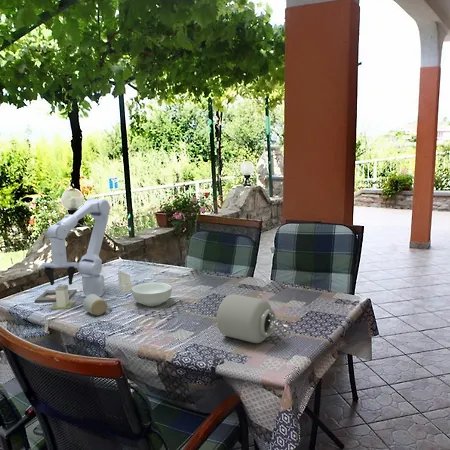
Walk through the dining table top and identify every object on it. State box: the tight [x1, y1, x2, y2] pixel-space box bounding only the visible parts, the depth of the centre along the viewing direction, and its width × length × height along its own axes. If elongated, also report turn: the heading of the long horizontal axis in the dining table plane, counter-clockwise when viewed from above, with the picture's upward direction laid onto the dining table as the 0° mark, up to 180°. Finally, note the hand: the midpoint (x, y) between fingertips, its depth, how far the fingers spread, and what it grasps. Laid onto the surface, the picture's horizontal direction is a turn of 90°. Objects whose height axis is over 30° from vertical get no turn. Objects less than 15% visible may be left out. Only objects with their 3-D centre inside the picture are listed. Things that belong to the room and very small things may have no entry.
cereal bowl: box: [131, 282, 173, 307], centre depth 198 cm, size 17×17×7 cm
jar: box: [216, 293, 288, 344], centre depth 157 cm, size 19×15×25 cm
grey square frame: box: [34, 289, 78, 304], centre depth 208 cm, size 14×14×2 cm
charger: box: [54, 284, 70, 307], centre depth 196 cm, size 4×5×8 cm
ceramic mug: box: [82, 294, 113, 316], centre depth 188 cm, size 10×8×7 cm
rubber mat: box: [49, 301, 76, 310], centre depth 197 cm, size 8×8×1 cm
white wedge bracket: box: [117, 270, 135, 294], centre depth 215 cm, size 4×10×9 cm, turn 146°
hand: (61, 284), depth 196 cm, fingers open, 7 cm apart
